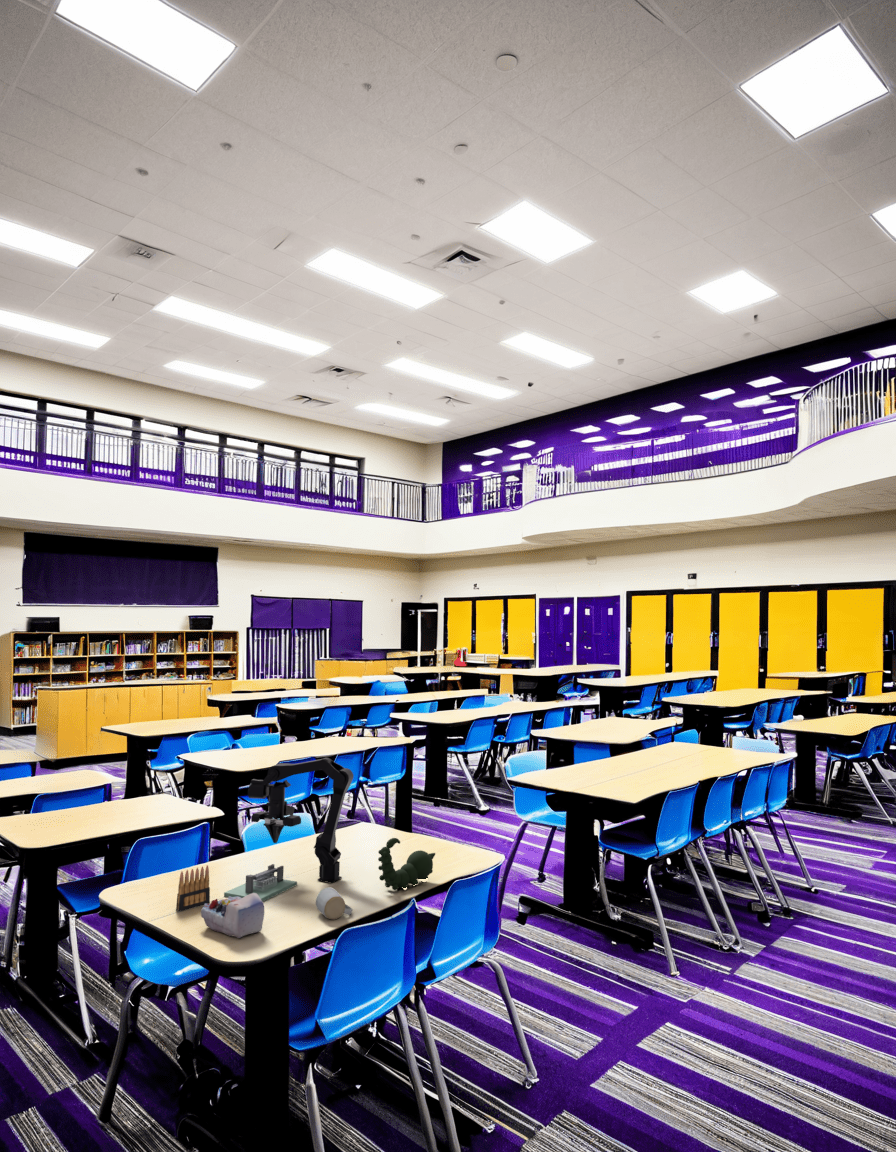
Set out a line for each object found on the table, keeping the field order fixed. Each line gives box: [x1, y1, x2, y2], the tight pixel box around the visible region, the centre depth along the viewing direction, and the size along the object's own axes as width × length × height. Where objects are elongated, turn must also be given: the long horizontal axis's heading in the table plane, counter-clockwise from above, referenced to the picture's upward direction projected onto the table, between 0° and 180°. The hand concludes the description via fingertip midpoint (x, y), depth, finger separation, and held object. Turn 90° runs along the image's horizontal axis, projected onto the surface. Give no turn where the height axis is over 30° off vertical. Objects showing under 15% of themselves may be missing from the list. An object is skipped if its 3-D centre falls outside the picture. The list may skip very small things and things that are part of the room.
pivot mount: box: [267, 863, 284, 883], centre depth 252 cm, size 5×3×5 cm, turn 66°
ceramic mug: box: [315, 886, 353, 920], centre depth 222 cm, size 11×8×8 cm
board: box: [223, 878, 298, 903], centre depth 245 cm, size 15×20×1 cm
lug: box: [245, 874, 256, 893], centre depth 240 cm, size 2×2×5 cm
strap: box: [253, 867, 277, 880], centre depth 247 cm, size 12×3×1 cm, turn 155°
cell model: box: [200, 893, 265, 939], centre depth 211 cm, size 13×11×20 cm
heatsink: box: [253, 875, 277, 892], centre depth 245 cm, size 7×8×3 cm
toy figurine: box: [378, 837, 436, 891], centre depth 251 cm, size 9×19×25 cm
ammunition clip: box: [175, 864, 211, 912], centre depth 229 cm, size 11×2×12 cm, turn 138°
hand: (275, 842), depth 261 cm, fingers closed
